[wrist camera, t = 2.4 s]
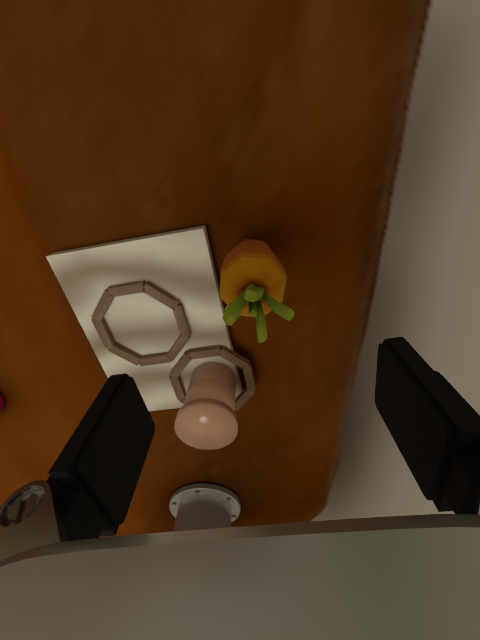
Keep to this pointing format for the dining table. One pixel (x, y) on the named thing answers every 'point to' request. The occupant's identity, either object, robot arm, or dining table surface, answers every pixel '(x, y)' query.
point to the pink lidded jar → (209, 408)
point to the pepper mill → (1, 402)
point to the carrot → (253, 284)
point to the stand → (152, 311)
